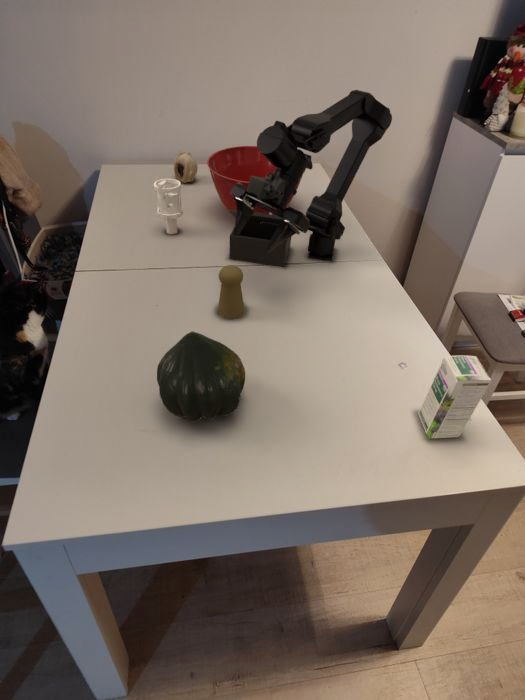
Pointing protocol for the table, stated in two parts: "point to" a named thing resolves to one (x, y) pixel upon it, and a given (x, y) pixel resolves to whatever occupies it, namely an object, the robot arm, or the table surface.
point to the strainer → (169, 203)
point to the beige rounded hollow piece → (185, 167)
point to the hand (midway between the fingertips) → (250, 243)
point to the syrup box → (453, 396)
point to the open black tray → (258, 245)
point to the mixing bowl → (238, 172)
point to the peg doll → (231, 292)
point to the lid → (261, 217)
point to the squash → (200, 378)
